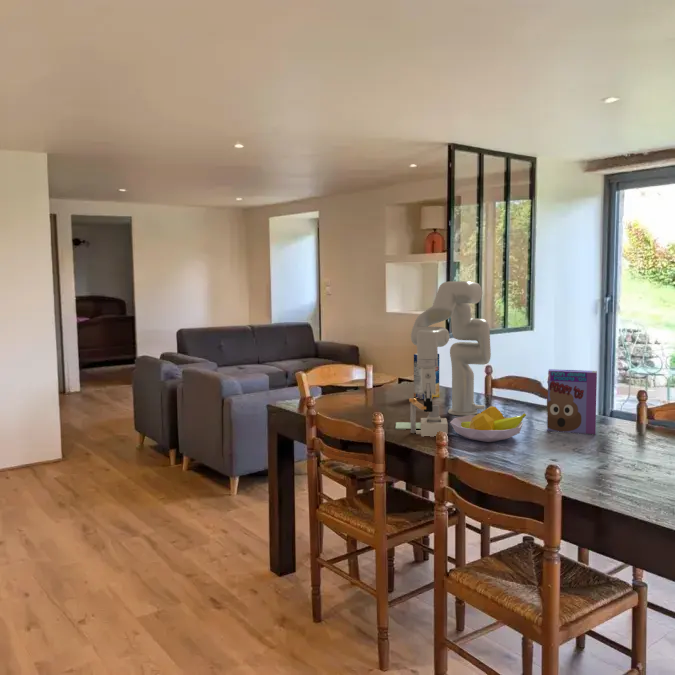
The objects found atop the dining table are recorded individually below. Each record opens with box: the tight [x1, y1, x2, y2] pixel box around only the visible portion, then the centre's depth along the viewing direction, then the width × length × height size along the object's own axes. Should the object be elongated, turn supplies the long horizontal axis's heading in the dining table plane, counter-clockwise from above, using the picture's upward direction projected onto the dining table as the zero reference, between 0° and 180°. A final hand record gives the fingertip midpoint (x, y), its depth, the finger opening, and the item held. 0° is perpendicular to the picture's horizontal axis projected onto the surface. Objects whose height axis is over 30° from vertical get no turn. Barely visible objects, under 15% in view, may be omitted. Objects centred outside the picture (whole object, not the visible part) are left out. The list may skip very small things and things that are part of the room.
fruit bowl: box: [449, 405, 527, 443], centre depth 244 cm, size 28×27×11 cm
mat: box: [395, 421, 421, 430], centre depth 265 cm, size 10×10×1 cm
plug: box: [426, 404, 441, 422], centre depth 252 cm, size 5×5×11 cm
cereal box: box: [546, 368, 598, 436], centre depth 251 cm, size 17×5×24 cm, turn 68°
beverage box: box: [413, 353, 440, 400], centre depth 326 cm, size 7×11×22 cm, turn 122°
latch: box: [408, 397, 426, 411], centre depth 247 cm, size 14×3×2 cm, turn 11°
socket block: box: [410, 402, 449, 438], centre depth 252 cm, size 14×10×12 cm
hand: (428, 411), depth 243 cm, fingers closed
